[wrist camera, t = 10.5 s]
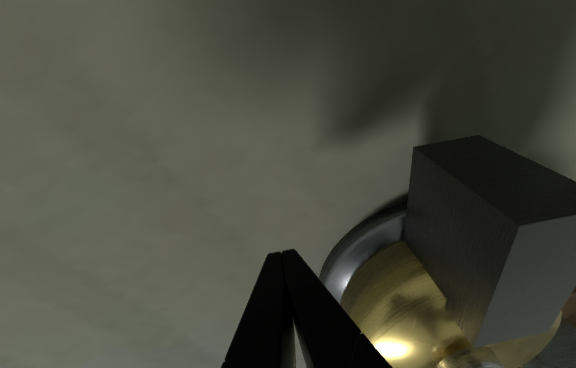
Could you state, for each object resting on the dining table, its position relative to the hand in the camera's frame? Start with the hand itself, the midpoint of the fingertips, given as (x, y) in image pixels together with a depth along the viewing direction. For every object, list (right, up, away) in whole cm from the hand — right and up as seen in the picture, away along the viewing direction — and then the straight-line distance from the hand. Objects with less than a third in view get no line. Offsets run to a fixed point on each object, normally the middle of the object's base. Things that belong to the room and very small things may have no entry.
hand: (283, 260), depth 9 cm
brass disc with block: (+7, -1, +4) cm, 8 cm away
